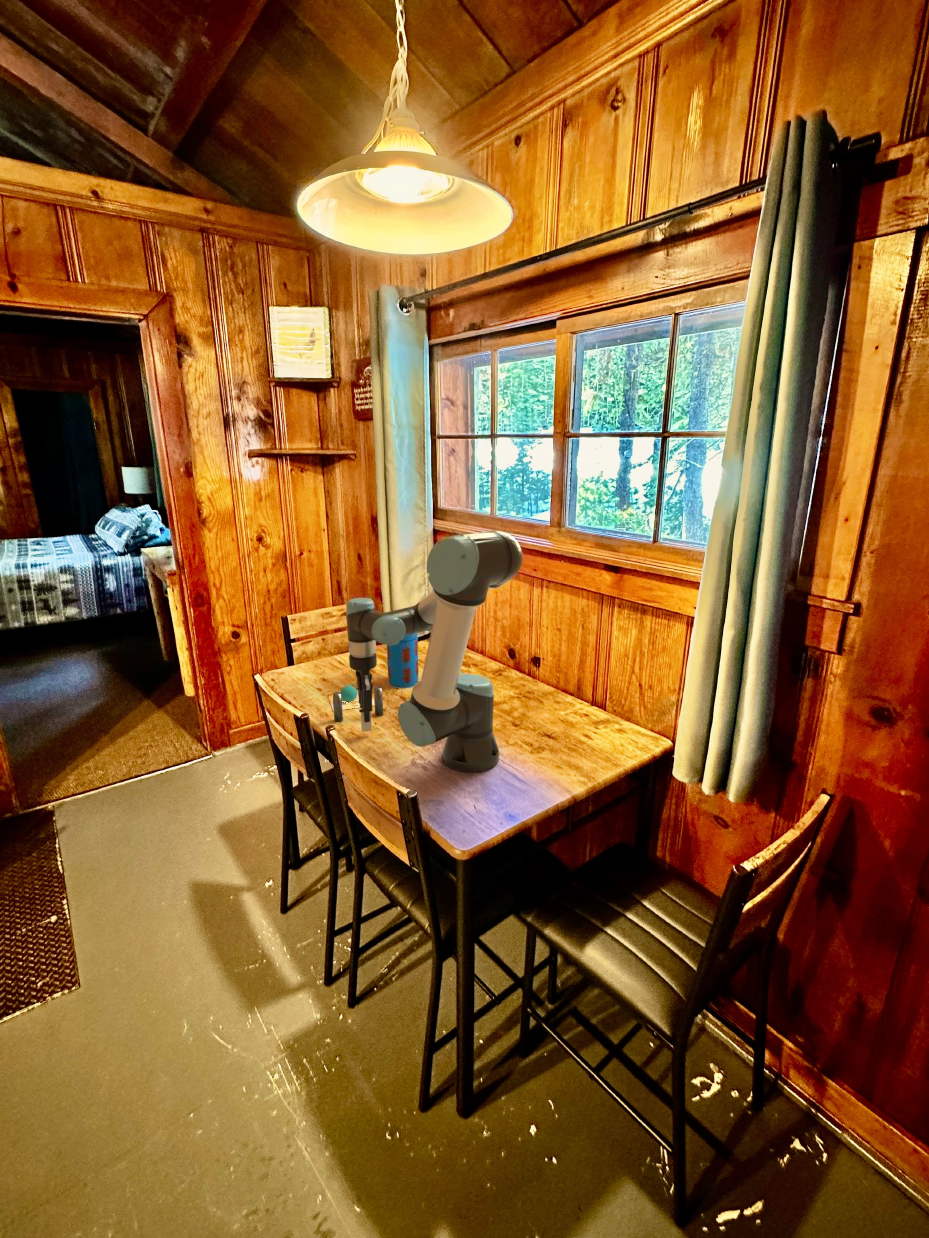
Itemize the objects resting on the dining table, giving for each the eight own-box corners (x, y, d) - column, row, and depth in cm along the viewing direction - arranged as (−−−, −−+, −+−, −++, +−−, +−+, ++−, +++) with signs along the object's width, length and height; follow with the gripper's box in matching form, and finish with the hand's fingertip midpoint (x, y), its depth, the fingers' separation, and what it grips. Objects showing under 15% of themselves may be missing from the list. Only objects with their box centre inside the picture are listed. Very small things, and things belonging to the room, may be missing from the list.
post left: (343, 721, 175) (341, 694, 173) (334, 723, 174) (333, 695, 172) (342, 718, 178) (340, 691, 175) (333, 719, 177) (331, 692, 174)
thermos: (422, 678, 209) (421, 612, 202) (412, 689, 199) (410, 620, 192) (395, 675, 212) (392, 610, 205) (383, 686, 202) (380, 618, 195)
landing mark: (376, 705, 187) (376, 704, 187) (333, 711, 182) (333, 711, 182) (368, 689, 199) (368, 688, 199) (327, 695, 195) (327, 694, 195)
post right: (384, 715, 179) (382, 688, 177) (375, 716, 179) (374, 690, 176) (382, 712, 182) (381, 685, 179) (374, 713, 181) (372, 687, 178)
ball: (354, 691, 194) (357, 704, 190) (338, 693, 192) (341, 706, 188) (356, 680, 190) (359, 693, 187) (339, 682, 188) (342, 695, 185)
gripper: (345, 647, 164) (350, 722, 171) (352, 662, 152) (357, 742, 159) (371, 644, 166) (375, 718, 173) (380, 659, 155) (384, 738, 161)
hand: (366, 730), depth 166 cm, fingers closed
